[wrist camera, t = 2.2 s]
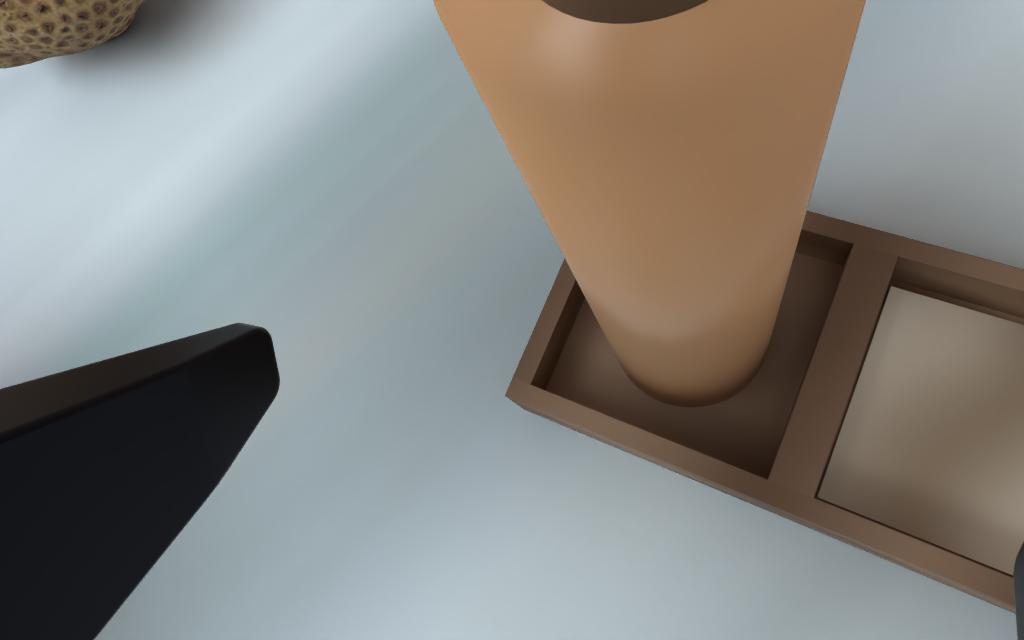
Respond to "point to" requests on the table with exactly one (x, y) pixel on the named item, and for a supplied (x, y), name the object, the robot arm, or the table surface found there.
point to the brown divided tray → (839, 403)
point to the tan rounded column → (667, 160)
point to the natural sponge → (58, 27)
